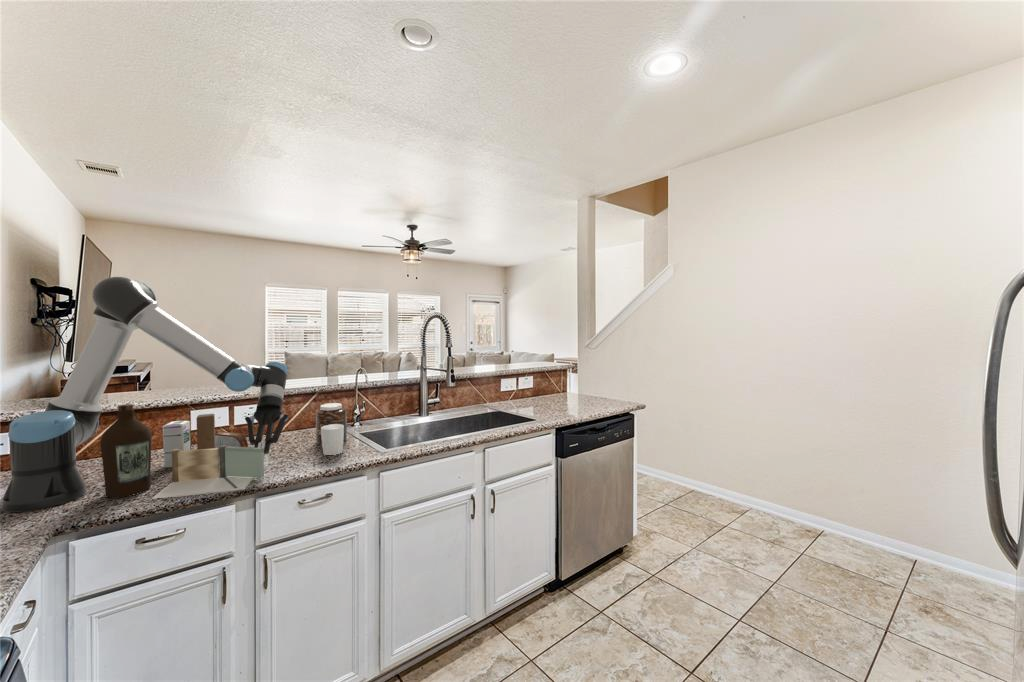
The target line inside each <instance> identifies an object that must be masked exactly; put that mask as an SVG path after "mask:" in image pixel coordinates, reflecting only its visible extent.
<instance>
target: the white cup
mask: <svg viewBox="0 0 1024 682" xmlns="http://www.w3.org/2000/svg"><path fill="white" fill-rule="evenodd" d="M321 439H322V445H321V447H322V455H323V454H324V455H323V456H325V455H334V456H337V455H336V454H339V455H341V454H342V453H344V442H343V440H344V425H341V424H331V425H326V426H323V427H321ZM340 453H341V454H340Z"/></svg>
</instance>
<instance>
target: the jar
mask: <svg viewBox="0 0 1024 682" xmlns="http://www.w3.org/2000/svg"><path fill="white" fill-rule="evenodd" d="M331 424H341V425H344V440H343V443H345V442H346V441H347V440H348V435H347V433H348V432H347V431H348V429H347V428H348V427H347V426H348V423H347V409H346V408H344V407H343V404H342V403H339V402H329V403H324V404H321V405H320V408H319V409H318V410H316V413H315V438H316V440H315V441H316V444H317V445H319V444H320V446H322V439H321V427H323V426H326V425H331Z"/></svg>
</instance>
